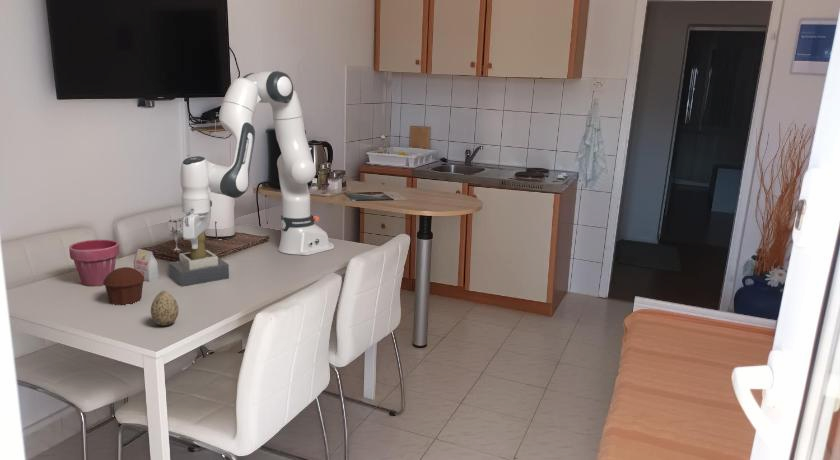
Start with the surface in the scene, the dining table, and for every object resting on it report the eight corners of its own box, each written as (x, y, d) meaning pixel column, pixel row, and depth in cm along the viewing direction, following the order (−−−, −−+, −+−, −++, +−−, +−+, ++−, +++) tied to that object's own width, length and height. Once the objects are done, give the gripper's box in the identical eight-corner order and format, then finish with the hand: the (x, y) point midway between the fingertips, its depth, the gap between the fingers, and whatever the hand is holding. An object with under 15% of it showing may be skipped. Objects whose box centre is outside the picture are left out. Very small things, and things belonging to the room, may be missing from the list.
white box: (143, 275, 212) (141, 247, 209) (158, 279, 209) (156, 250, 206) (134, 278, 208) (132, 250, 206) (149, 282, 206) (147, 253, 203)
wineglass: (173, 248, 244) (172, 218, 241) (187, 249, 243) (186, 219, 240) (166, 252, 238) (164, 222, 235) (180, 253, 237) (178, 223, 234)
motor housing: (215, 268, 221) (214, 247, 219) (229, 278, 212) (228, 256, 210) (169, 276, 211) (168, 254, 209) (181, 286, 202) (180, 263, 200)
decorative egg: (152, 331, 168) (150, 297, 166) (151, 321, 175) (148, 288, 172) (180, 327, 171) (178, 294, 169) (178, 318, 178) (176, 285, 175)
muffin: (117, 292, 195) (115, 262, 192) (152, 294, 195) (150, 264, 192) (97, 306, 183) (94, 274, 181) (134, 308, 183) (131, 276, 181)
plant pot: (99, 272, 212) (96, 236, 209) (131, 278, 208) (128, 242, 205) (62, 284, 200) (58, 246, 196) (95, 291, 195) (91, 252, 192)
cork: (210, 261, 213) (209, 230, 211) (203, 266, 207) (202, 235, 205) (193, 260, 214) (192, 229, 211) (185, 265, 208) (184, 234, 205)
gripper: (197, 213, 196) (198, 255, 199) (213, 200, 216) (214, 238, 219) (176, 212, 195) (178, 254, 199) (194, 199, 215) (196, 237, 219)
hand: (197, 246), depth 209 cm, fingers open, 4 cm apart
